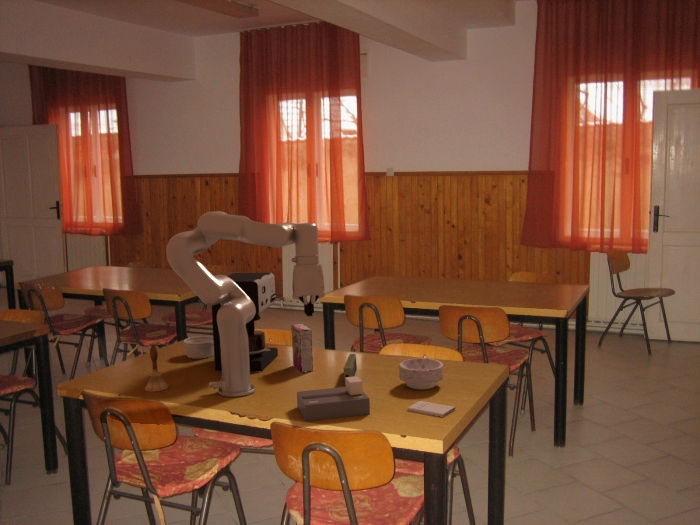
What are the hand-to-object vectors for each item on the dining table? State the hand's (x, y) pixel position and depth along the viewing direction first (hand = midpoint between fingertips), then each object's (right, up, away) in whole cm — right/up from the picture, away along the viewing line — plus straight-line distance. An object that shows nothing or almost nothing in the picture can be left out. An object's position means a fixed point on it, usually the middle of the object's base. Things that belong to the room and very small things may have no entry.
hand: (309, 315), depth 229 cm
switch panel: (+8, -29, -13) cm, 33 cm away
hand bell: (-55, -27, +16) cm, 63 cm away
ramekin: (-49, -22, +60) cm, 81 cm away
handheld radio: (+14, -25, +20) cm, 35 cm away
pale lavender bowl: (+38, -25, +10) cm, 47 cm away
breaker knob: (+15, -23, -12) cm, 30 cm away
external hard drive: (+39, -29, -15) cm, 51 cm away
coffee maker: (-27, -23, +44) cm, 57 cm away
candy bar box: (-5, -23, +36) cm, 43 cm away
